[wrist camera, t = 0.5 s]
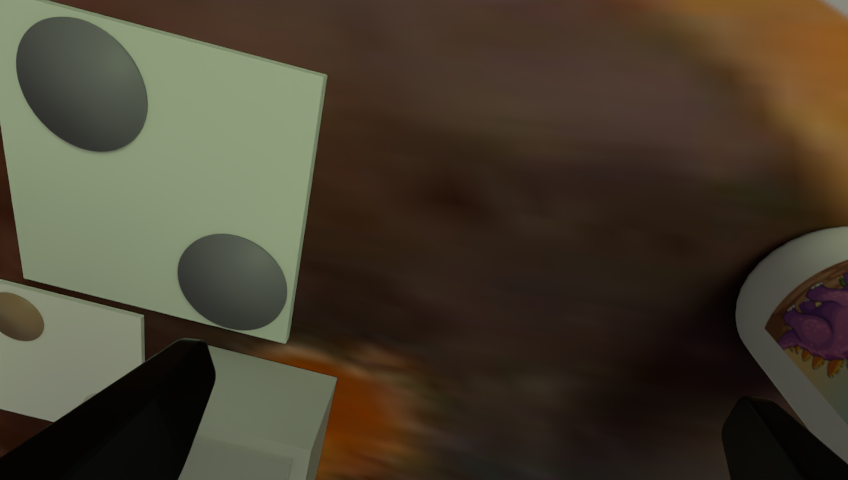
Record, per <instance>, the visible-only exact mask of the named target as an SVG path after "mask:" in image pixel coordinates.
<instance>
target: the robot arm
mask: <svg viewBox="0 0 848 480" xmlns="http://www.w3.org/2000/svg"><path fill="white" fill-rule="evenodd" d="M215 380H216V371H215V367H214V364H213V361H212V358H211V354H210V351H209V348H208V345H207V343H206V342H205V341H204V340H199V339H189V338H182V339H179V340H177V341H175V342H174V343H172V344H171V345H169V346H168V347H166V348H165V349H163V350H162V351H160V352H159V353H157V354H156V355H154V356H153V357H151V358H150V359H148V360H147V361H145V362H144V363H142V364H141V365H139V366H138V367H136V368H135V369H133V370H132V371H130V372H129V373H127V374H126V375H124V376H123V377H121V378H120V379H118V380H117V381H115V382H114V383H112V384H111V385H109V386H108V387H106V388H105V389H103V390H102V391H100V392H99V393H97V394H95V395H94V396H92V397H91V398H89V399H88V400H86V401H85V402H83V403H82V404H80V405H79V406H77V407H76V408H74V409H73V410H71V411H70V412H68V413H67V414H65V415H64V416H62V417H61V418H59V419H58V420H56V421H55V422H53V423H52V424H50V425H49V426H47V427H46V428H44V429H43V430H41V431H40V432H38V433H37V434H35V435H34V436H32V437H31V438H29V439H28V440H26V441H25V442H23V443H22V444H20V445H19V446H17V447H16V448H14V449H13V450H11V451H10V452H8V453H7V454H5V455H4V456H2V457H1V458H0V480H178V479H179V477H180V474H181V472H182V470H183V468H184V465H185V463H186V460H187V458H188V455H189V453H190V450H191V447H192V445H193V442H194V439H195V436H196V434H197V431H198V428H199V426H200V423H201V420H202V417H203V415H204V412H205V409H206V406H207V404H208V401H209V398H210V395H211V393H212V390H213V387H214V384H215ZM722 442H723V447H724V451H725V455H726V460H727V464H728V469H729V473H730V477H731V480H848V464H847V463H846V462H845V461H844V460H843V459H841V458H840V457H839V456H838V455H837V454H836V453H834V452H833V451H832V450H831V449H830V448H829V447H827V446H826V445H825V444H824V443H823V442H822V441H820V440H819V439H818V438H817V437H816V436H815V435H813V434H812V433H811V432H810V431H809V430H808V429H806V428H805V427H804V426H803V425H802V424H801V423H799V422H798V421H797V420H796V419H795V418H794V417H792V416H791V415H790V414H789V413H788V412H787V411H785V410H784V409H783V408H782V407H781V406H780V405H779V404H777V403H776V402H775V401H773V400H771V399H769V398H764V397H754V396H743V397H741V398H740V399H739V400H738V401H737V403H736V405H735V406H734V408H733V410H732V411H731V413H730V415H729V417H728V418H727V420H726V422H725V423H724V425H723V429H722Z"/></svg>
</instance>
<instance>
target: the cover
mask: <svg viewBox="0 0 848 480" xmlns="http://www.w3.org/2000/svg"><path fill="white" fill-rule="evenodd" d="M208 348H209V351H210V354H211V358H212V361H213V364H214V367H215V371H216V380H215V384H214V387H213V390H212V393H211V395H210V398H209V401H208V404H207V406H206V409H205V412H204V415H203V417H202V420H201V423H200V426H199V428H198V431H197V434H196V436H195V439H194V442H193V445H192V447H191V450H190V453H189V455H188V458H187V460H186V463H185V465H184V468H183V470H182V472H181V474H180V477H179V479H178V480H315V477H316V474H317V471H318V466H319V461H320V457H321V452H322V447H323V442H324V438H325V433H326V428H327V424H328V419H329V414H330V410H331V405H332V400H333V395H334V391H335V386H336V381H337V377H333V376H329V375H325V374H321V373H317V372H313V371H309V370H305V369H301V368H297V367H293V366H289V365H285V364H281V363H277V362H273V361H269V360H265V359H261V358H257V357H253V356H249V355H245V354H241V353H237V352H233V351H229V350H225V349H221V348H217V347H213V346H209V345H208Z"/></svg>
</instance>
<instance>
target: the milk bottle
mask: <svg viewBox="0 0 848 480" xmlns="http://www.w3.org/2000/svg"><path fill="white" fill-rule="evenodd" d="M736 326H737V330H738V333H739V335H740V338H741V340H742V341H743V343H744V344H745V346H746V347H747V349H748V350H749V352H750V353H751V354H752V356H753V357H754V359H755V360H756V361H757V362H758V364H759V365H760V366H761V368H762V369H763V370H764V372H765V373H766V374H767V376H768V377H769V378H770V380H771V381H772V382H773V383H774V385H775V386H776V387H777V389H778V390H779V391H780V393H781V394H782V395H783V396H784V398H785V399H786V400H787V402H788V403H789V404H790V406H791V407H792V408H793V409H794V411H795V412H796V413H797V415H798V416H799V417H800V419H801V420H802V421H803V422H804V424H805V425H806V426H807V428H808V429H809V430H810V432H811V433H812V434H813V435H815V436H816V437H817V438H818V439H819V440H820V441H822V442H823V443H824V444H825V445H826V446H827V447H829V448H830V449H831V450H832V451H833V452H834V453H836V454H837V455H838V456H839V457H840V458H841V459H843V460H844V461H845V462H846V463H847V464H848V227H844V226H842V227H836V228H827V229H822V230H818V231H815V232H811V233H807V234H804V235H802V236H800V237H798V238H796V239H793V240H791V241H788V242H787V243H785V244H784V245H782V246H781V247H779V248H777V249H776V250H774V251H772V252H771V253H770V254H769V255H768V256H767V257H765V258H764V259H763V260H762V261H760V262H759V263H758V265H757V266H756V267H755V268H754V269H753V271H752V272H751V273H750V274H749V275H748V277H747V279H746V280H745V282H744V284H743V285H742V287H741V289H740V293H739V296H738V299H737V302H736Z"/></svg>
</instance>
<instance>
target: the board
mask: <svg viewBox="0 0 848 480" xmlns="http://www.w3.org/2000/svg"><path fill="white" fill-rule="evenodd" d="M326 82H327V75H326V74H322V73H318V72H314V71H311V70H307V69H303V68H299V67H296V66H292V65H288V64H284V63H281V62H277V61H273V60H269V59H266V58H262V57H258V56H254V55H251V54H247V53H243V52H239V51H236V50H232V49H228V48H224V47H221V46H217V45H213V44H209V43H206V42H202V41H198V40H194V39H191V38H187V37H183V36H179V35H176V34H172V33H168V32H164V31H161V30H157V29H153V28H149V27H145V26H142V25H138V24H134V23H130V22H127V21H123V20H119V19H115V18H112V17H108V16H104V15H100V14H97V13H93V12H89V11H85V10H82V9H78V8H74V7H70V6H67V5H63V4H59V3H55V2H52V1H48V0H0V125H1V131H2V138H3V144H4V151H5V158H6V164H7V171H8V177H9V184H10V190H11V197H12V204H13V210H14V217H15V223H16V230H17V236H18V243H19V250H20V256H21V263H22V269H23V276H24V278H25V279H29V280H33V281H37V282H41V283H45V284H49V285H53V286H57V287H61V288H65V289H69V290H73V291H77V292H81V293H85V294H89V295H93V296H97V297H101V298H105V299H109V300H113V301H117V302H121V303H125V304H129V305H133V306H137V307H141V308H145V309H149V310H153V311H157V312H161V313H165V314H169V315H173V316H176V317H180V318H184V319H188V320H192V321H196V322H200V323H204V324H208V325H212V326H216V327H220V328H224V329H228V330H232V331H236V332H240V333H244V334H248V335H252V336H256V337H260V338H264V339H268V340H272V341H276V342H280V343H284V344H286V342H287V340H288V338H289V334H290V327H291V320H292V314H293V307H294V300H295V293H296V286H297V280H298V273H299V266H300V259H301V252H302V245H303V239H304V232H305V225H306V218H307V211H308V204H309V198H310V191H311V184H312V177H313V170H314V164H315V157H316V150H317V143H318V136H319V129H320V123H321V116H322V109H323V102H324V95H325V88H326Z"/></svg>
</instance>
